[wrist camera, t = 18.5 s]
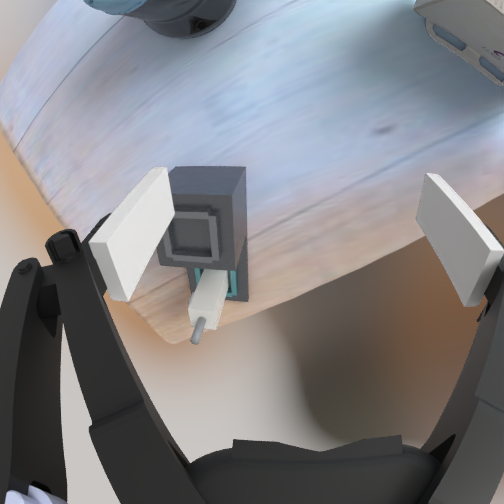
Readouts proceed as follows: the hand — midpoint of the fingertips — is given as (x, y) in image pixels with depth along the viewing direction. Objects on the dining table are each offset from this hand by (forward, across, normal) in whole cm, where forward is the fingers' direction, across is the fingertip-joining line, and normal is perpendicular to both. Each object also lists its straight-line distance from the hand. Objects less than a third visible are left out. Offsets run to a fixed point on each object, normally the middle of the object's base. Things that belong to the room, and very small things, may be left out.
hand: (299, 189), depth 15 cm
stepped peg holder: (+33, -13, -26) cm, 44 cm away
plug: (+32, -13, -34) cm, 48 cm away
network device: (+34, +31, +14) cm, 48 cm away
